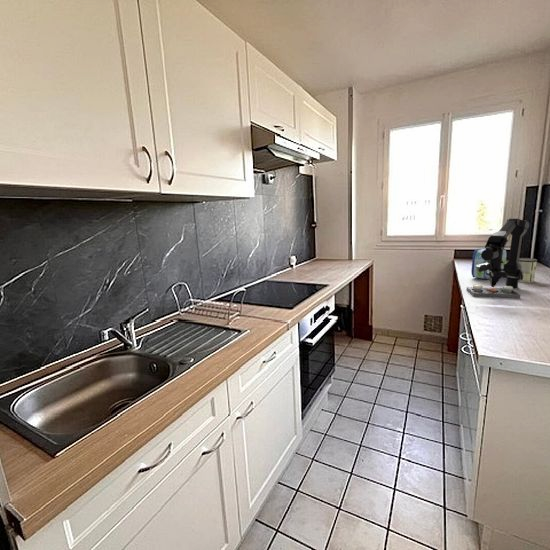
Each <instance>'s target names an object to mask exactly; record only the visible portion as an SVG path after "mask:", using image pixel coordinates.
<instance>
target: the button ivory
mask: <svg viewBox="0 0 550 550" xmlns="http://www.w3.org/2000/svg"><path fill="white" fill-rule="evenodd" d="M472 287H473V288H474V290H473V291H481V289H482V287H483V285H480V284H473V285H472Z"/></svg>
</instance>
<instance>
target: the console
mask: <svg viewBox="0 0 550 550" xmlns="http://www.w3.org/2000/svg"><path fill="white" fill-rule="evenodd" d="M487 288H488V287H482V289H481V291H473V290H474V288H473V286H466V292H468V293H469V294H470V295H471V297H473V298H492V299H494V298H496V299H515V300H516V299H518V300H520V299H521V297H522V296H521V294H520V293H518V292H517V291H515V290H514V289H513V290H512V292H503V287H496V288H497V292H488V290H487Z"/></svg>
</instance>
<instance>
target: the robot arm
mask: <svg viewBox="0 0 550 550" xmlns="http://www.w3.org/2000/svg"><path fill="white" fill-rule="evenodd" d="M529 227H530V222H529V221H528V220H526V219H525V220H524V219H521V218H516V217H513V218H512V217H510V218H507V220H506V222H505V223H504V224H503V226H501V228H500V229H499V230H498V231H496V232H494V233H492V234H491V235H489V237H488V239H487V241H486V242H485V243H486V244H485V246H484V248H486V250H484V251H483V252H482V253H481V257H482V259H483V260H486V261H487V263H483V264H479V265H476V269H477V271H478V272H483V271H488V272H487V273H486V274H487V275H488V276H489V278H490V279H489V283H490V287H494V288H495V287H496V285H497V283H498V282H499V281H500V279H501V278H503V279H505V281H506V282H505V286H511V287H513V290H514V289H515V290H517V289H518V287H519V280H523V276H524V275H523V272H522V270H521V265H520V263H519V258H520V256H521V255H520V254H521V249H522V241H523V236H525V234H526V233H527V232H528V229H529ZM510 234H511V240H510V248H509V253H508V261H506V264H504V268H503V270H502V268H501V265H502V263H503V261H502V257H503V250H504V249H505V247H506V245H507V244H508V241H509V240H508V237H509V236H510Z"/></svg>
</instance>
